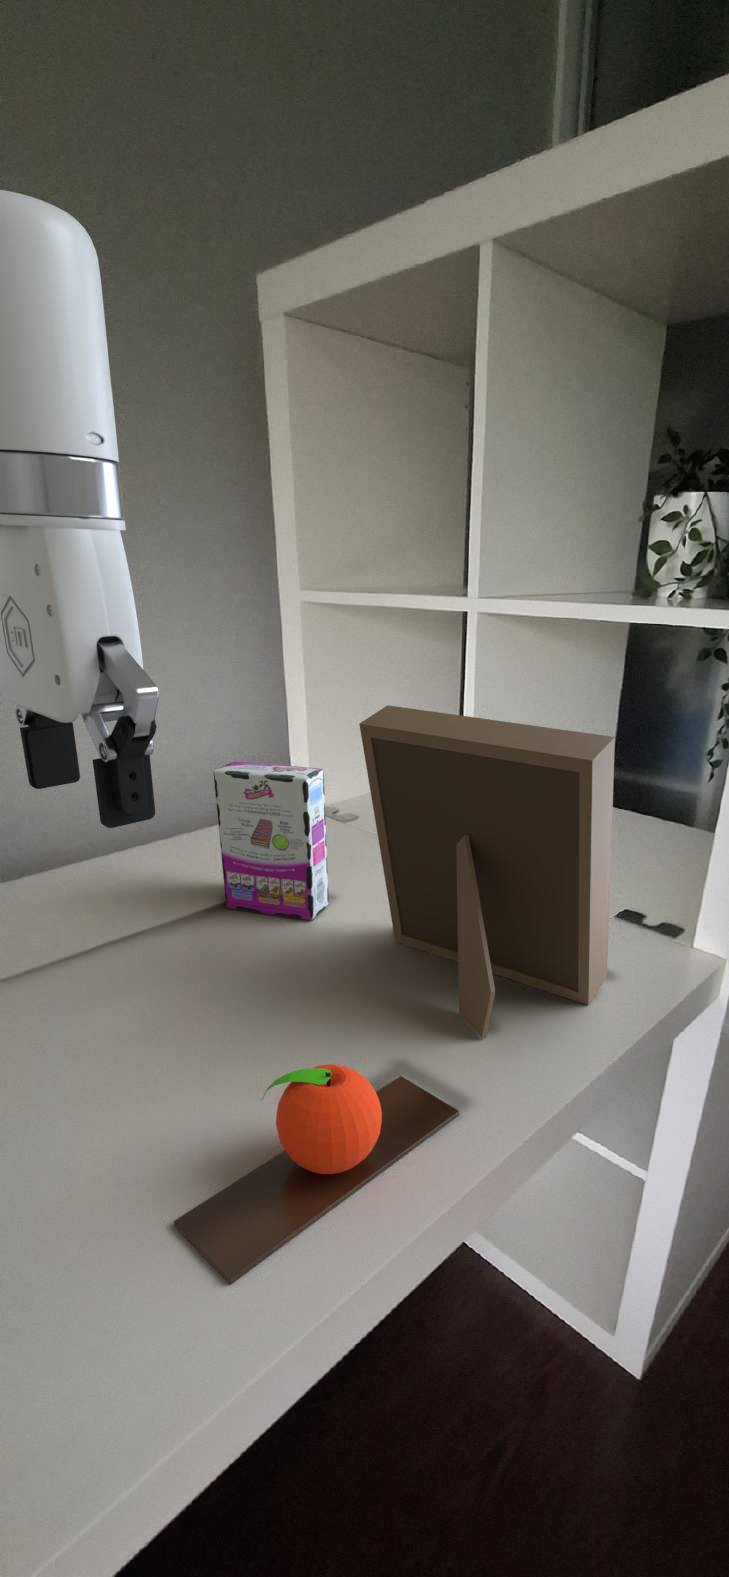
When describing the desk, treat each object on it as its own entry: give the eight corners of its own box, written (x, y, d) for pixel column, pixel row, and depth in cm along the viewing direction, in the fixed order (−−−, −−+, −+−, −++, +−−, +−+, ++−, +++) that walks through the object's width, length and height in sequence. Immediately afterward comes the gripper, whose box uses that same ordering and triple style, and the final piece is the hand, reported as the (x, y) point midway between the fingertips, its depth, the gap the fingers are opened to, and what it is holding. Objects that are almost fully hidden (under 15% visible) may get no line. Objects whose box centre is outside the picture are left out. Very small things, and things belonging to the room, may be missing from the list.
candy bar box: (330, 904, 91) (326, 767, 84) (313, 922, 86) (307, 779, 80) (244, 892, 94) (234, 758, 87) (223, 908, 89) (210, 769, 83)
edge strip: (173, 1225, 48) (173, 1221, 47) (401, 1079, 61) (401, 1075, 61) (230, 1284, 44) (230, 1279, 44) (459, 1115, 57) (459, 1110, 57)
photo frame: (417, 927, 86) (421, 696, 75) (605, 985, 74) (639, 725, 64) (331, 983, 74) (322, 721, 64) (537, 1062, 63) (566, 760, 53)
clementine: (250, 1191, 50) (241, 1101, 47) (279, 1119, 56) (273, 1036, 53) (373, 1203, 49) (372, 1113, 46) (389, 1128, 55) (388, 1045, 52)
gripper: (-82, 493, 45) (-26, 782, 52) (49, 492, 34) (98, 856, 41) (48, 502, 50) (84, 763, 57) (199, 503, 39) (219, 825, 46)
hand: (90, 802), depth 49 cm, fingers open, 9 cm apart
